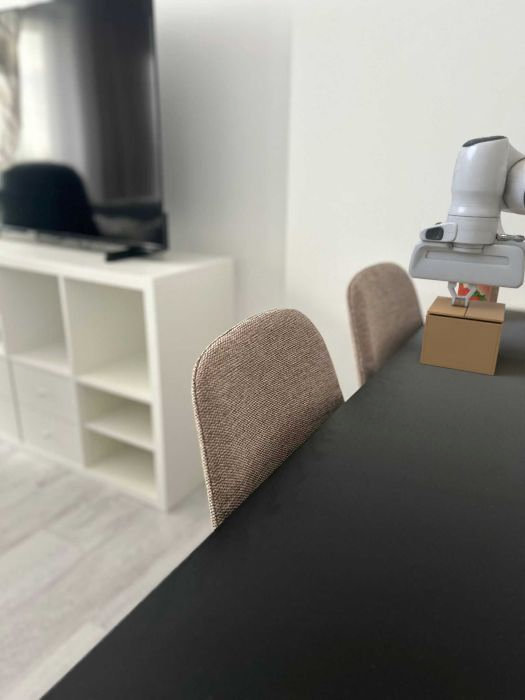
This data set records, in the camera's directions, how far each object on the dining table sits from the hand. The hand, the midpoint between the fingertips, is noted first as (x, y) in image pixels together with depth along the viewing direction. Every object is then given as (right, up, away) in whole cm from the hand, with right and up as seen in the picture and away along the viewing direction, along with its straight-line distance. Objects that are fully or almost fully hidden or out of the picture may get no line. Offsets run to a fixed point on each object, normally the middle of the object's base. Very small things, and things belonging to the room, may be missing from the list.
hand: (459, 305), depth 98 cm
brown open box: (+1, -10, +3) cm, 11 cm away
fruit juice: (+16, 0, +33) cm, 36 cm away
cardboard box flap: (-2, 0, +1) cm, 2 cm away
